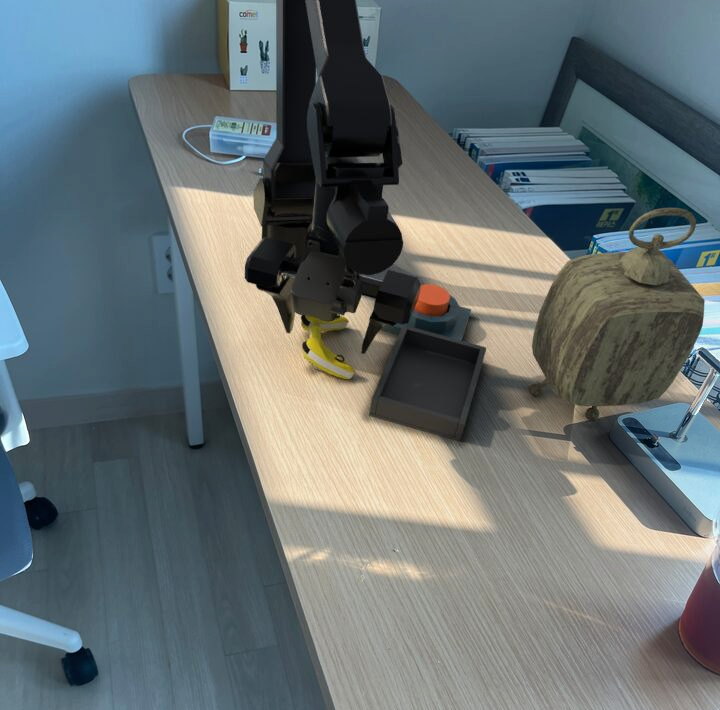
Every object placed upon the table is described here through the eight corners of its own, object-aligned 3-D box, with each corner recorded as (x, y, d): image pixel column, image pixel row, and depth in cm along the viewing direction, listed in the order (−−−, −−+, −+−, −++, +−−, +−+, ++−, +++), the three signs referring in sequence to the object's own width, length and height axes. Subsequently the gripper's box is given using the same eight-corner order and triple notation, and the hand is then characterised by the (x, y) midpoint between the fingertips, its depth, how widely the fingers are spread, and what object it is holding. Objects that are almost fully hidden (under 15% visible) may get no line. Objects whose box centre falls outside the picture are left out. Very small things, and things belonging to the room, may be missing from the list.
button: (408, 311, 93) (411, 299, 92) (416, 292, 96) (419, 280, 95) (443, 320, 93) (446, 308, 92) (450, 301, 96) (453, 289, 95)
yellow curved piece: (293, 318, 92) (305, 296, 90) (339, 336, 95) (352, 315, 92) (295, 371, 85) (308, 348, 83) (344, 389, 88) (358, 367, 86)
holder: (368, 416, 83) (371, 397, 81) (399, 342, 93) (403, 324, 91) (459, 442, 82) (465, 424, 80) (481, 365, 92) (486, 347, 90)
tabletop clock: (621, 379, 94) (716, 187, 75) (654, 430, 88) (766, 236, 69) (513, 384, 90) (585, 185, 72) (540, 438, 84) (626, 236, 66)
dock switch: (380, 330, 94) (384, 310, 92) (395, 296, 100) (399, 277, 97) (457, 351, 93) (463, 332, 91) (469, 316, 99) (474, 297, 96)
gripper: (224, 233, 73) (225, 360, 84) (409, 283, 71) (385, 405, 83) (265, 184, 81) (261, 307, 92) (434, 228, 79) (408, 347, 90)
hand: (326, 341), depth 89 cm, fingers open, 9 cm apart
